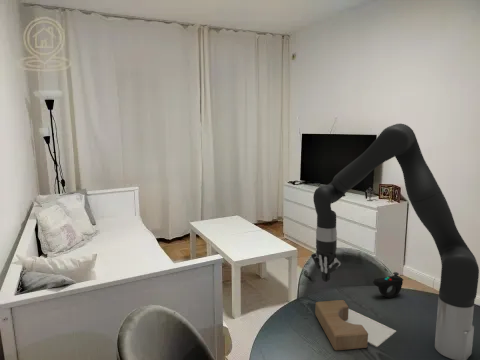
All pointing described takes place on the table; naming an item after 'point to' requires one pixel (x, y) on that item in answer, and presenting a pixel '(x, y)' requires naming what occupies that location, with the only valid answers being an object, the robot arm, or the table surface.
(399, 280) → the controller
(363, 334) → the decorative block
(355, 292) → the table surface
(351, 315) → the mat
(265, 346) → the table surface
